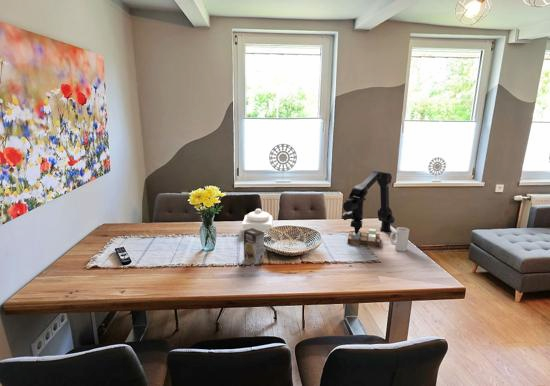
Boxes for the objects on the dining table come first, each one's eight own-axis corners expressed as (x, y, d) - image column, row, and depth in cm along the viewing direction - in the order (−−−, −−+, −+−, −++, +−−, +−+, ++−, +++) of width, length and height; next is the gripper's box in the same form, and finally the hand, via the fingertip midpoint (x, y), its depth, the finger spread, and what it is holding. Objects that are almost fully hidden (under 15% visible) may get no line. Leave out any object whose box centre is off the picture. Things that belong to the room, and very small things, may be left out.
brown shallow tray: (349, 235, 206) (349, 230, 206) (379, 238, 201) (379, 234, 201) (347, 243, 193) (347, 239, 193) (379, 247, 188) (379, 242, 188)
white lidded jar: (271, 237, 203) (271, 213, 199) (242, 237, 203) (241, 212, 199) (272, 227, 220) (272, 205, 216) (245, 227, 220) (245, 204, 216)
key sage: (368, 234, 201) (368, 228, 200) (375, 235, 200) (375, 229, 199) (368, 236, 198) (368, 230, 197) (375, 237, 196) (375, 231, 195)
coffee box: (243, 259, 173) (242, 230, 169) (252, 255, 178) (252, 227, 174) (255, 264, 167) (255, 235, 163) (264, 260, 172) (264, 231, 168)
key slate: (352, 238, 197) (352, 232, 196) (359, 239, 196) (359, 232, 195) (352, 241, 194) (352, 234, 193) (359, 241, 193) (359, 235, 192)
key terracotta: (353, 234, 204) (353, 228, 203) (359, 235, 203) (360, 229, 202) (352, 236, 200) (353, 230, 199) (359, 237, 199) (360, 231, 198)
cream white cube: (368, 240, 195) (368, 233, 194) (375, 241, 194) (375, 234, 193) (367, 242, 191) (368, 236, 190) (375, 243, 190) (375, 237, 189)
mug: (404, 246, 190) (406, 227, 187) (409, 251, 183) (411, 231, 180) (387, 246, 190) (388, 226, 187) (390, 251, 183) (392, 231, 180)
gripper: (345, 203, 201) (343, 227, 205) (342, 211, 184) (340, 238, 188) (364, 204, 198) (362, 229, 202) (362, 213, 181) (360, 240, 185)
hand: (356, 233), depth 194 cm, fingers closed, pressing on key slate
